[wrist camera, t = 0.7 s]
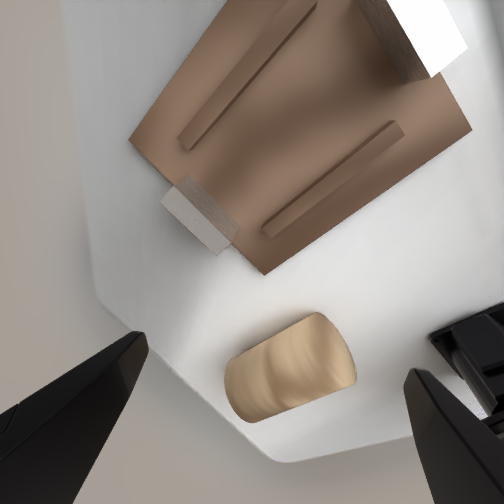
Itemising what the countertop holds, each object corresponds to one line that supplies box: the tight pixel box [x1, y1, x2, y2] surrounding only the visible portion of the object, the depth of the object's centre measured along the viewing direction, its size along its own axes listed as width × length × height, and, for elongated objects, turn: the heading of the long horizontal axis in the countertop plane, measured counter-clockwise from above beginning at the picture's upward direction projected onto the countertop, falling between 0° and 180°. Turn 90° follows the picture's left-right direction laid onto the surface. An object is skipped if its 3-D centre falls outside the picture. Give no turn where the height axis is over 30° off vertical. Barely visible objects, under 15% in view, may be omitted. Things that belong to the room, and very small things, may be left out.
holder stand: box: [128, 0, 472, 276], centre depth 15 cm, size 14×16×4 cm
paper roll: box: [224, 312, 357, 423], centre depth 23 cm, size 6×10×6 cm, turn 133°
